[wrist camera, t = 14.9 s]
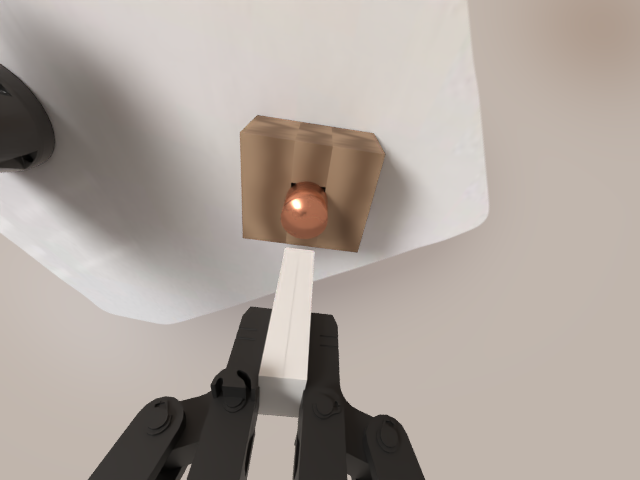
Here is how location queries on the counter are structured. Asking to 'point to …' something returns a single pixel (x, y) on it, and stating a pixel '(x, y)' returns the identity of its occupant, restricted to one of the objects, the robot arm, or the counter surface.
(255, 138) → the hitch block
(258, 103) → the counter surface
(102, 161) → the counter surface
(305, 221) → the copper cylinder with shaft
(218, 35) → the counter surface
